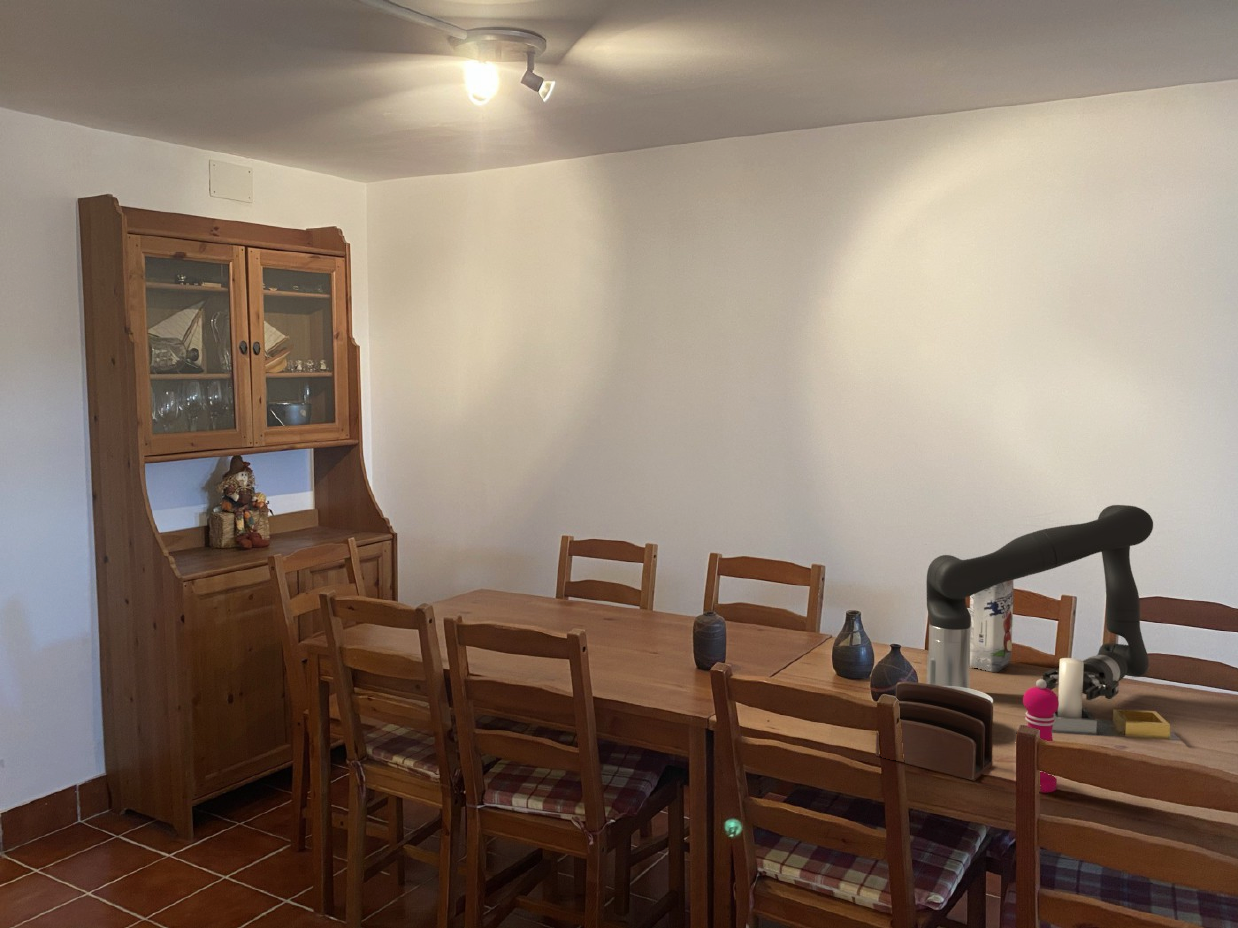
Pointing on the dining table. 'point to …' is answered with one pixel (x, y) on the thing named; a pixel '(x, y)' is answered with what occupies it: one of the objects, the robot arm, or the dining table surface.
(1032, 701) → the pepper mill
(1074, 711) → the cream peg
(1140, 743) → the dining table surface
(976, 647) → the juice carton
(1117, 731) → the peg insertion base
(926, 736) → the letter holder
